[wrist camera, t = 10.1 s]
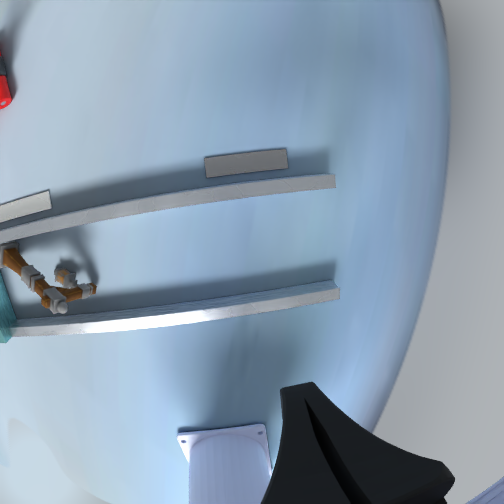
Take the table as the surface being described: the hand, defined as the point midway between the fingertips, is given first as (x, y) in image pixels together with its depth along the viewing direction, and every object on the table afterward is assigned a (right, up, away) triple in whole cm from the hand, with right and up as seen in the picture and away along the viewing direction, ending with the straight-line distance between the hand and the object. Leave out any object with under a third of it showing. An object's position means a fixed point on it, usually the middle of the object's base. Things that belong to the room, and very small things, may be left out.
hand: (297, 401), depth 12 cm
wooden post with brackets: (-16, +5, +7) cm, 19 cm away
